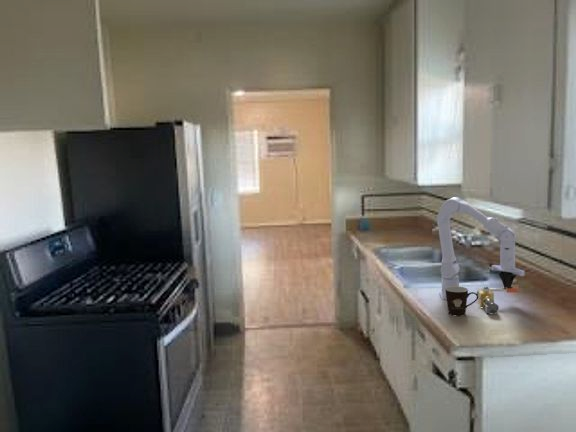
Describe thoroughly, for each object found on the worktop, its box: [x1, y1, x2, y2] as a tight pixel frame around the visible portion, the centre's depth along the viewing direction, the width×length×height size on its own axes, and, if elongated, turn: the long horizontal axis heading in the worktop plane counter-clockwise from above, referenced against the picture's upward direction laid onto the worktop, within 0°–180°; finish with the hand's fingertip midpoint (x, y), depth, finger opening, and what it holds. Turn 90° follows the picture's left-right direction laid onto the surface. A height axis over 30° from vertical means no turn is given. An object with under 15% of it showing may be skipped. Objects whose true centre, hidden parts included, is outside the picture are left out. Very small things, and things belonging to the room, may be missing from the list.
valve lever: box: [482, 286, 520, 293], centre depth 211 cm, size 14×3×2 cm, turn 82°
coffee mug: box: [445, 285, 478, 317], centre depth 204 cm, size 12×9×10 cm
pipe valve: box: [476, 288, 499, 315], centre depth 210 cm, size 20×5×6 cm, turn 172°
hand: (507, 289), depth 215 cm, fingers closed
